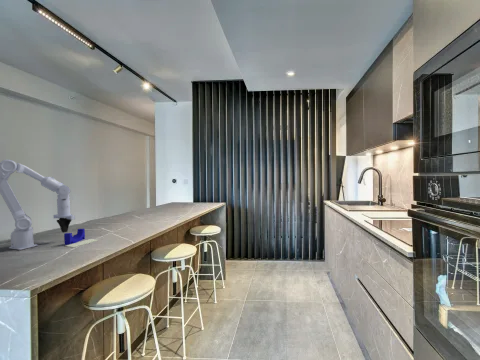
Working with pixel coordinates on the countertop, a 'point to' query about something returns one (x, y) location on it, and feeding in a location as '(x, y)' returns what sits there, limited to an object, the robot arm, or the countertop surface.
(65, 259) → the countertop surface
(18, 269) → the countertop surface
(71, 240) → the cable clip
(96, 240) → the mat
